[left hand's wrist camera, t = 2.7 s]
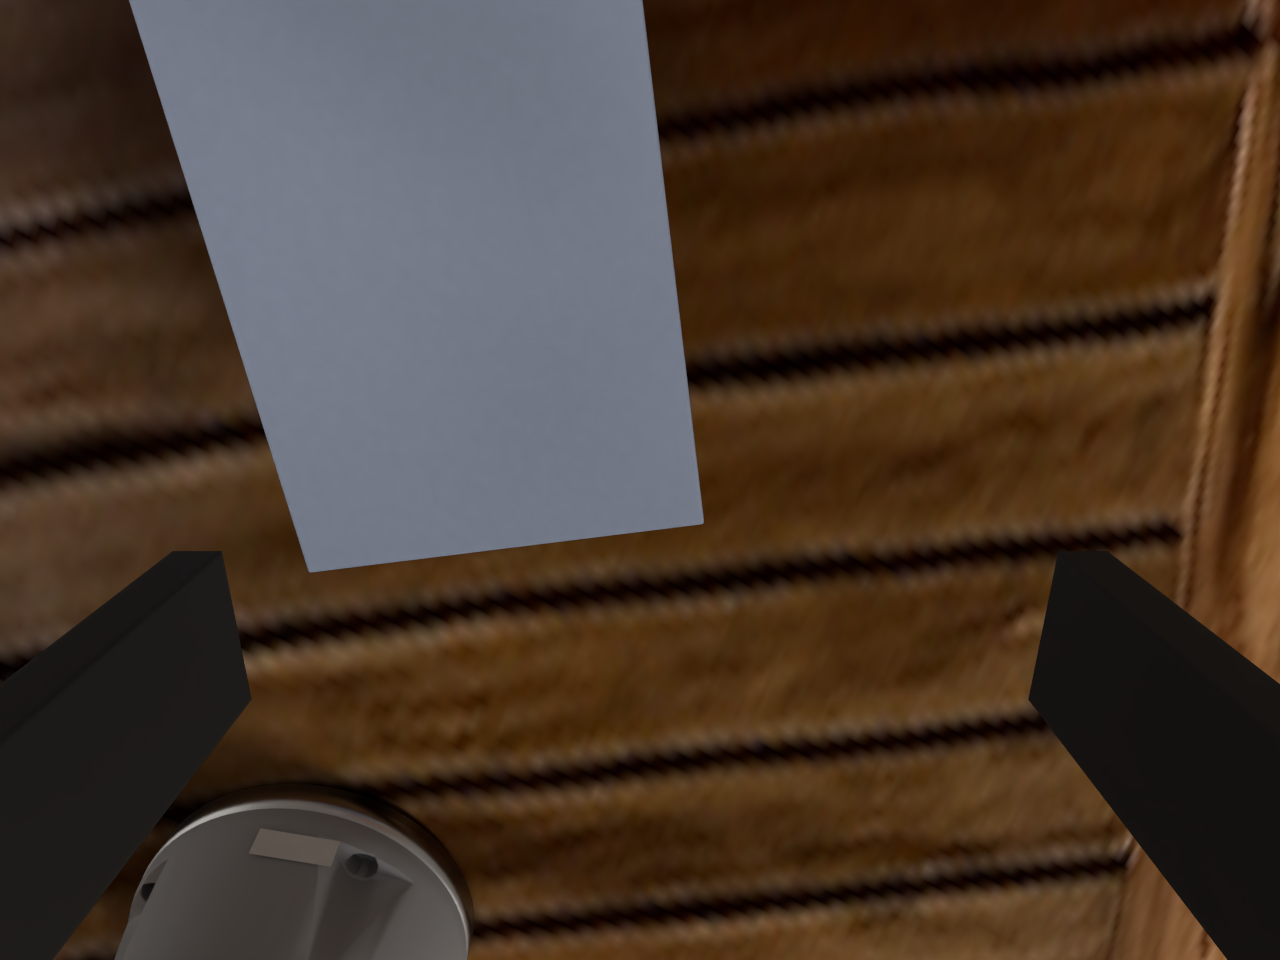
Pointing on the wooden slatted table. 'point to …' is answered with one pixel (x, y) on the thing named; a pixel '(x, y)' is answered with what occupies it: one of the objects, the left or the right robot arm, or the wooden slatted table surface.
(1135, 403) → the wooden slatted table surface
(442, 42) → the cabinet
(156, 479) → the wooden slatted table surface
